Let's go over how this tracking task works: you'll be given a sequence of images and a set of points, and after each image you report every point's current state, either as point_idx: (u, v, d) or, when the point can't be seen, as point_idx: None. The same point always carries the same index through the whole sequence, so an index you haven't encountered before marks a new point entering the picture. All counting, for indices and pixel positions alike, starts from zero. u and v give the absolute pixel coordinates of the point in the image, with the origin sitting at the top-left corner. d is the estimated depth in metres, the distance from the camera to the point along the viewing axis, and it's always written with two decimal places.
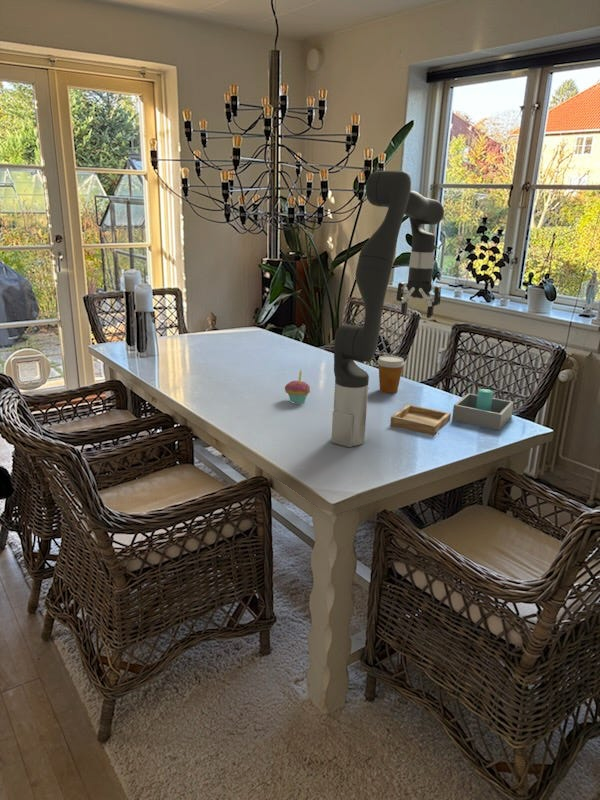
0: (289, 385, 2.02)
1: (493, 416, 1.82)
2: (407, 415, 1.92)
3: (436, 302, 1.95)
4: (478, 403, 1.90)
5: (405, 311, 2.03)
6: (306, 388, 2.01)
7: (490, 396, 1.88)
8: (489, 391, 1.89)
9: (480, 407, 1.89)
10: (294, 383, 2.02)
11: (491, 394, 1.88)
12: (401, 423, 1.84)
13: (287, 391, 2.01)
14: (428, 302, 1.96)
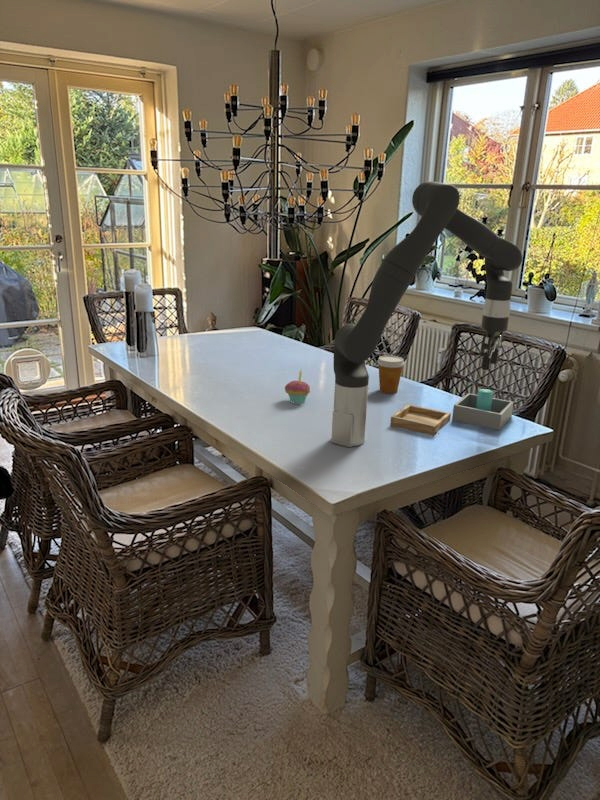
0: (289, 385, 2.02)
1: (493, 416, 1.82)
2: (407, 415, 1.92)
3: (501, 345, 1.90)
4: (478, 403, 1.90)
5: None
6: (306, 388, 2.01)
7: (490, 396, 1.88)
8: (489, 391, 1.89)
9: (480, 407, 1.89)
10: (294, 383, 2.02)
11: (491, 394, 1.88)
12: (401, 423, 1.84)
13: (287, 391, 2.01)
14: (498, 348, 1.87)
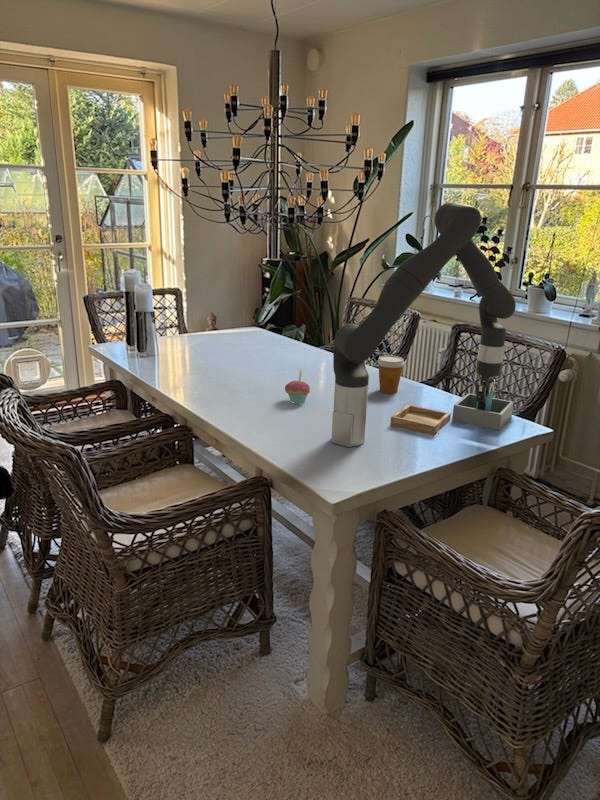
0: (289, 385, 2.02)
1: (493, 416, 1.82)
2: (407, 415, 1.92)
3: (493, 392, 1.93)
4: None
5: None
6: (306, 388, 2.01)
7: (490, 396, 1.88)
8: None
9: None
10: (294, 383, 2.02)
11: (491, 394, 1.88)
12: (401, 423, 1.84)
13: (287, 391, 2.01)
14: None
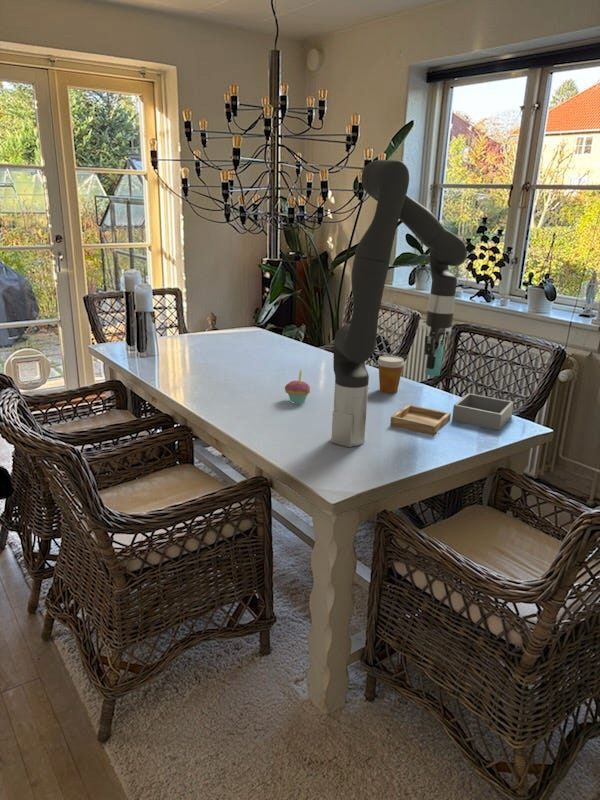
0: (289, 385, 2.02)
1: (493, 416, 1.82)
2: (407, 415, 1.92)
3: (444, 347, 1.84)
4: None
5: None
6: (306, 388, 2.01)
7: (440, 350, 1.79)
8: (440, 345, 1.81)
9: None
10: (294, 383, 2.02)
11: (441, 347, 1.79)
12: (401, 423, 1.84)
13: (287, 391, 2.01)
14: None
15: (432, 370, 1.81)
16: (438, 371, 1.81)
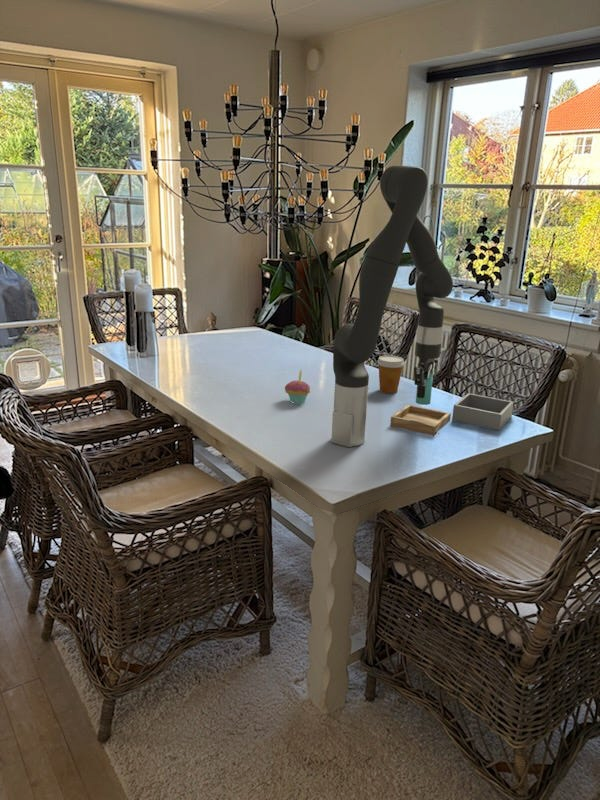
0: (289, 385, 2.02)
1: (493, 416, 1.82)
2: (407, 415, 1.92)
3: (434, 375, 1.87)
4: None
5: None
6: (306, 388, 2.01)
7: (429, 379, 1.82)
8: (429, 374, 1.83)
9: None
10: (294, 383, 2.02)
11: (431, 377, 1.82)
12: (401, 423, 1.84)
13: (287, 391, 2.01)
14: None
15: (422, 399, 1.84)
16: (428, 400, 1.84)
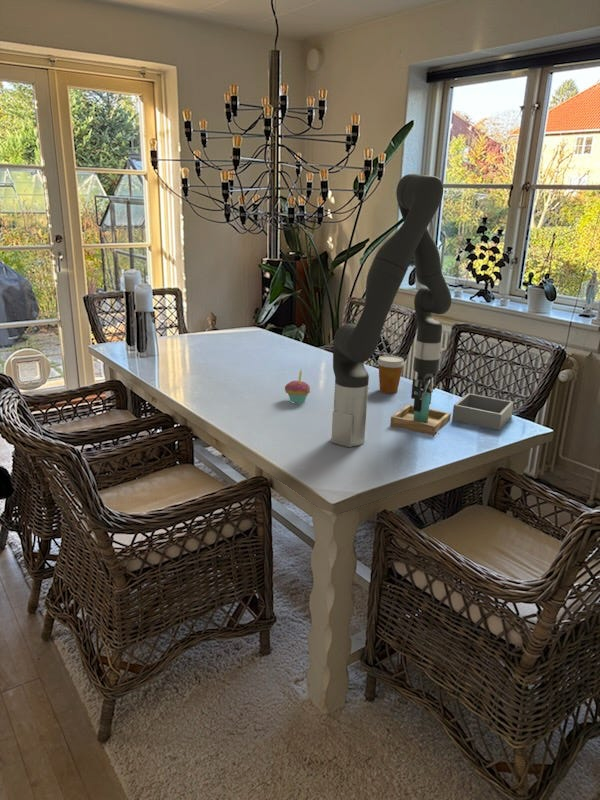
0: (289, 385, 2.02)
1: (493, 416, 1.82)
2: (407, 415, 1.92)
3: (434, 386, 1.89)
4: None
5: None
6: (306, 388, 2.01)
7: (427, 398, 1.84)
8: (426, 393, 1.85)
9: None
10: (294, 383, 2.02)
11: (428, 396, 1.84)
12: (401, 423, 1.84)
13: (287, 391, 2.01)
14: (431, 389, 1.87)
15: (420, 418, 1.85)
16: (426, 419, 1.86)
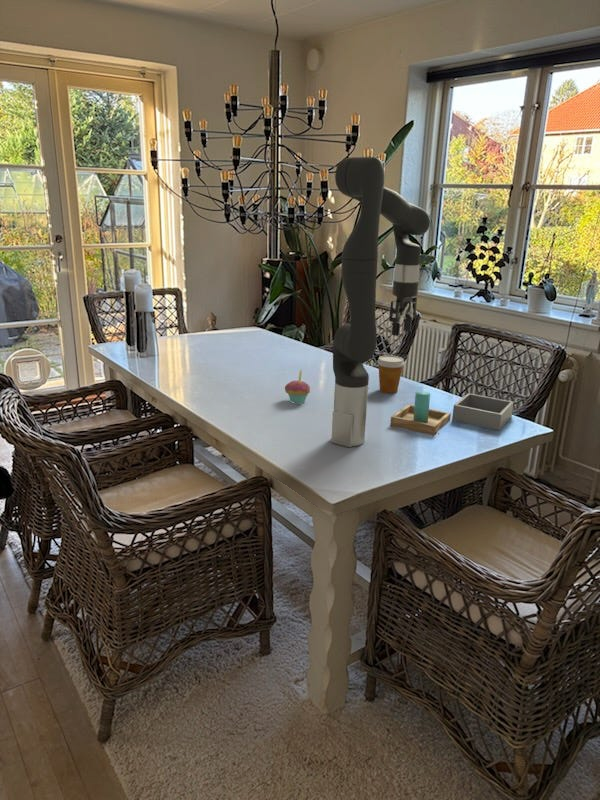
0: (289, 385, 2.02)
1: (493, 416, 1.82)
2: (407, 415, 1.92)
3: (415, 312, 1.90)
4: (415, 406, 1.85)
5: None
6: (306, 388, 2.01)
7: (427, 398, 1.84)
8: (426, 393, 1.85)
9: (417, 410, 1.85)
10: (294, 383, 2.02)
11: (428, 396, 1.84)
12: (401, 423, 1.84)
13: (287, 391, 2.01)
14: (411, 315, 1.88)
15: (420, 418, 1.85)
16: (426, 419, 1.86)
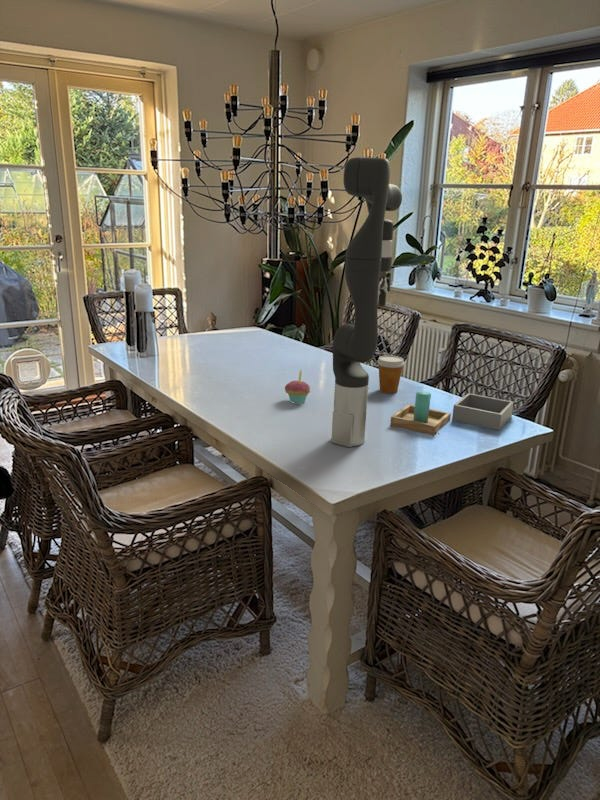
0: (289, 385, 2.02)
1: (493, 416, 1.82)
2: (407, 415, 1.92)
3: (389, 288, 1.95)
4: (416, 405, 1.85)
5: None
6: (306, 388, 2.01)
7: (427, 398, 1.84)
8: (427, 393, 1.85)
9: (418, 410, 1.85)
10: (294, 383, 2.02)
11: (429, 396, 1.84)
12: (401, 423, 1.84)
13: (287, 391, 2.01)
14: (386, 290, 1.93)
15: (420, 418, 1.85)
16: (426, 419, 1.86)
